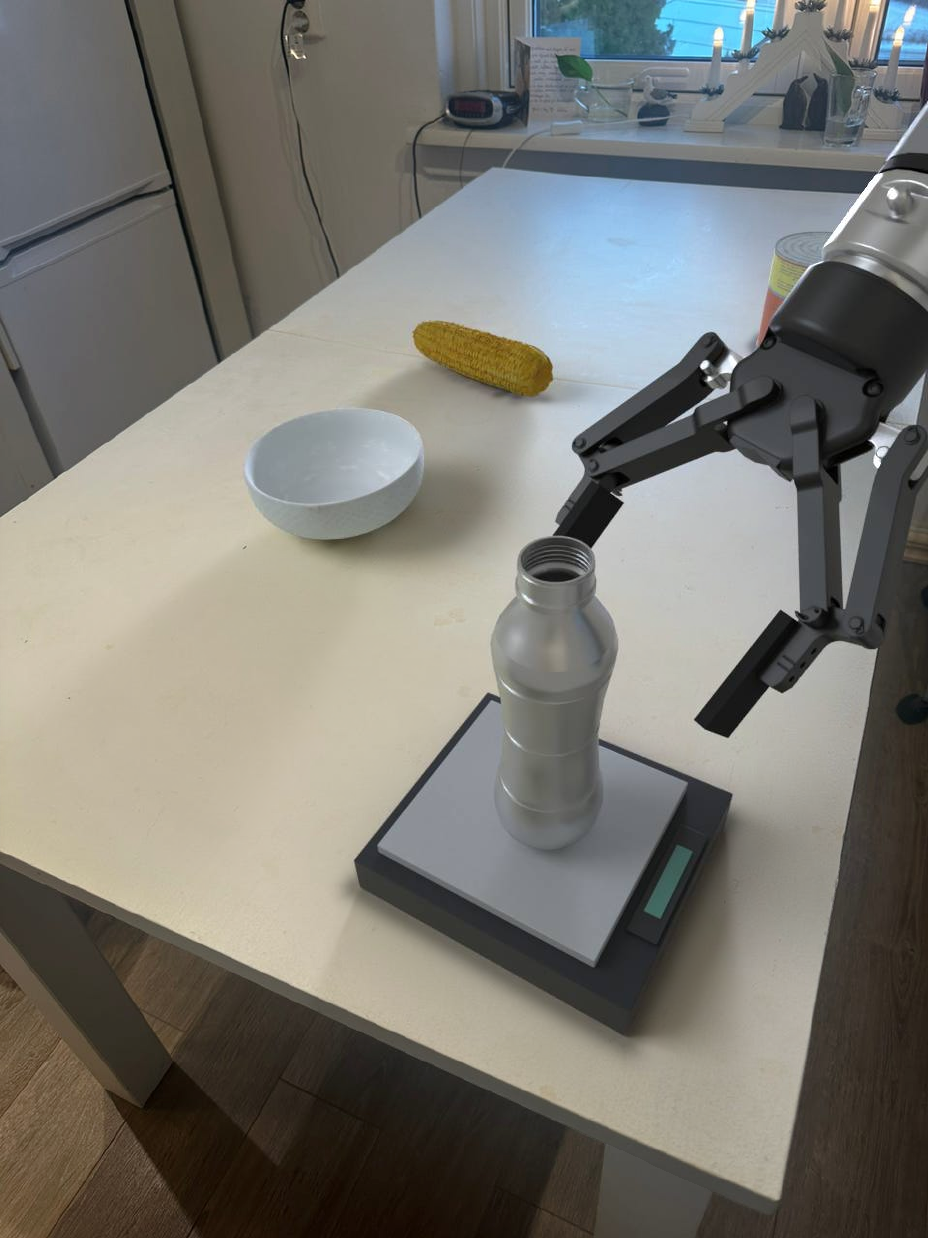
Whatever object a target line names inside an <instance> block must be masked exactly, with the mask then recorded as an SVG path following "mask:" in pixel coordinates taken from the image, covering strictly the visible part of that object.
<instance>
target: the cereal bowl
mask: <svg viewBox="0 0 928 1238" xmlns="http://www.w3.org/2000/svg"><path fill="white" fill-rule="evenodd" d="M424 470H425V452H424V445H423V439H422V437H421V434H420V433H419V431H418V430H417V429H416V427H415V426H414V425H413V424H412V423H411V422H409V421H408V420H406V419H405V418H402V417H400V416H399V415H396V414H393V413H390V412H387V411H383V410H378V409H372V408H364V407H363V408H362V407H338V408H329V409H324V410H323V409H322V410H317V411H313V412H308V413H305V414H302V415H299V416H296V417H292V418H290V419H288V420H285V421H283V422H281V423H279V424H277V425H275V426H273V427H272V428H270V429H268V430H267V431H266V432H264V433H263V434H262V435H261V436H259V437H258V438H257V439H256V440H255V441H254V442H253V443H252V445H251V446H250V447H249V448H248V450H247V451H246V454H245V457H244V459H243V464H242V474H243V478H244V482H245V485H246V487H247V491H248V493H249V496H250V498H251V501H253V503H254V506H255V507H256V508H257V510H258V512H259V513H260V514H261V515H262V516H263V517H264V518H265V519H266V520H267V521H268V522H269V523H271V524H272V525H274V526H275V527H277V528H278V529H280V531H281V530H282V531H283V532H285V533H289V534H291V535H294V536H297V537H298V538H299V537H300V538H305V539H312V540H323V541H326V540H340V539H342V540H343V539H349V538H353V537H358V536H361V535H365V534H367V533H371V532H373V531H375V530H377V529H379V528H382V527H383V526H386V525H387V524H388V523H390V522H392V521H393V520H394V519H396V518H397V517H398V516H399V515H401V514H402V513H403V512H404V511H406V509H408V507H409V505H411V503H412V502H413V500H414V499H415V497H416V495H417V494H418V492H419V490H420V488H421V486H422V485H421V484H422V482H423V476H424Z"/></svg>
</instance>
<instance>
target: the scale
mask: <svg viewBox="0 0 928 1238" xmlns="http://www.w3.org/2000/svg"><path fill="white" fill-rule="evenodd" d="M598 739H599V763H600V768H601V772H602V778H603V788H604V798H603V803H602V806H601V809H600V812H599V814H598V817H597V820H596V822H595V824H594V825H593V827H592V829H591V830H590V831H589V832H588V833H587V835H586V836H584V837H583V838H582V839H580V840H579V841H577V842H575V843H574V844H572V845H569V846H566V847H563V848H559V849H553V850H542V849H537V848H532V847H529V846H527V845H525V844H522V843H520V842H519V841H517V840H516V839H514V838H513V837H512V836H511V835H510V834H509V833H508V832H507V831H506V830H505V829H504V827H503V825H502V824H501V822H500V819H499V816H498V813H497V810H496V807H495V803H494V796H493V791H494V783H495V777H496V772H497V768H498V765H499V762H500V759H501V750H502V740H503V721H502V710H501V699H500V695H496V694H493V693H492V692H489V691H488V692H487V693H485V695H484V697H483V698H482V699H481V700H480V701H479V702H478V704H477V705H476V706H475V708H474V709H473V710H472V711H471V712H470V714H469V715H468V716H467V718H466V719H465V720H464V722H463V723H462V724H461V725H460V726H459V728H458V729H457V730H456V731H455V732H454V734H453V735H452V736H451V737H450V739H449V740H448V741H447V742H446V744H445V745H444V746H443V748H442V749H441V750H440V751H439V752H438V754H437V755H436V757H434V759H432V760H433V761H432V762H431V763H430V764H429V765H428V766H427V768H426V769H425V770H424V771H423V773H422V774H421V775H420V777H419V778H418V779H417V781H416V782H415V783H414V784H413V785H412V787H411V788H410V789H409V790H408V792H407V793H406V794H405V795H404V797H403V798H402V799H401V800H400V802H398V804H397V806H395V807H394V809H393V811H392V812H391V813H390V814H389V816H388V817H387V818H386V819H385V821H384V822H383V823H382V824H381V826H380V827H379V828H378V829H377V830H376V832H375V833H374V834H373V836H372V837H371V838H370V839H369V840H368V842H367V843H366V845H365V846H363V848H362V849H361V851H360V852H358V854H357V855H356V857H355V858H354V859H353V863H354V868H355V872H356V876H357V880H358V885H359V887H360V888H361V889H363V890H365V891H366V892H368V893H370V894H371V895H374V896H376V898H379V899H380V900H382V901H384V902H386V903H388V904H389V905H392V906H393V907H395V908H396V909H398V910H400V911H402V912H404V913H405V914H407V915H409V916H411V917H412V918H414V919H416V920H417V921H419V922H422V923H423V924H425V925H427V926H429V927H430V928H432V929H434V930H436V931H437V932H439V933H441V934H443V935H444V936H446V937H448V938H450V939H451V940H453V941H455V942H457V943H459V944H461V946H464V947H466V948H467V949H469V950H471V951H473V952H475V953H476V954H478V955H480V956H482V957H484V958H485V959H487V960H489V961H491V962H492V963H494V964H496V965H498V966H500V967H501V968H503V969H505V970H506V971H508V972H510V973H512V974H514V975H515V976H518V977H519V978H521V979H523V980H524V981H526V982H527V983H530V984H531V985H533V986H535V987H536V988H538V989H540V990H541V991H544V992H546V993H547V994H549V995H551V996H552V997H555V998H556V999H558V1000H559V1001H561V1002H564V1003H565V1004H567V1005H568V1006H570V1007H572V1008H574V1009H576V1010H578V1011H579V1012H581V1013H582V1014H584V1015H586V1016H588V1017H590V1018H591V1019H594V1020H595V1021H597V1022H599V1023H600V1024H602V1025H604V1026H606V1027H608V1028H610V1029H611V1030H612V1031H615V1032H617V1033H619V1034H620V1035H622V1036H624V1037H626V1036H627V1034H628V1032H629V1030H630V1027H631V1025H632V1024H633V1021H634V1020H635V1017H636V1015H637V1013H638V1010H639V1009H640V1006H641V1004H642V1002H643V1000H644V998H645V995H646V994H647V991H648V989H649V988H650V985H651V983H652V981H653V978H654V976H655V974H656V972H657V970H658V968H659V965H660V964H661V961H662V959H663V957H664V955H665V953H666V951H667V949H668V946H669V944H670V942H671V940H672V938H673V935H674V933H675V931H676V928H677V927H678V925H679V923H680V920H681V918H682V916H683V914H684V912H685V910H686V908H687V905H688V903H689V901H690V899H691V897H692V895H693V893H694V890H695V888H696V887H697V884H698V882H699V880H700V878H701V875H702V873H703V871H704V869H705V867H706V865H707V862H708V861H709V858H710V856H711V854H712V852H713V850H714V848H715V846H716V844H717V842H718V839H719V837H720V835H721V833H722V831H723V828H724V827H725V824H726V822H727V818H728V815H729V811H730V807H731V803H732V799H733V795H734V794H733V793H732V792H729V791H727V790H725V789H723V788H720V787H718V786H716V785H712V784H710V783H708V782H706V781H704V780H701V779H699V778H696V777H693V776H691V775H689V774H686V773H684V772H681V771H679V770H676V769H674V768H672V767H670V766H667V765H664V764H663V763H660V762H658V761H655V760H653V759H650V758H648V757H646V756H643V755H641V754H639V753H636V752H633V751H632V750H629V749H626V748H624V747H621V746H619V745H617V744H614V743H612V742H609V741H607V740H605V739H602V738H600V737H598Z"/></svg>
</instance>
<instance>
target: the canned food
mask: <svg viewBox="0 0 928 1238" xmlns="http://www.w3.org/2000/svg"><path fill="white" fill-rule="evenodd" d="M834 232H835V231H804V232H803V231H802V232H797V233H792V234H788V235H785V236H783V237H781V238H779V239H778V240H777V241H776V242H775V243H774V247H773V250H774V251H773V256H772V261H771V267H770V273H769V278H768V283H767V287H766V288H767V289H766V294H765V298H764V299H765V300H764V304H763V310H762V313H761V314H762V315H761V320H760V326H759V331H758V336H757V340H756V343H755V349H757V348H758V347H759V346H760V344H761V343H762V341H763V339H764V337H765V334H766V332H767V329H768V325H769V322H770V320H771V318H772V317H773V315H774V314H775V313H776V311H777V310H778V308H779V307H780V306H781V304H782V303H783V301H784V300H785V299H786V297H787V296H788V295H789V293H790V292H791V290H792V289H793V288H794V286H795V285H796V283H797V282H798V281H799V279H800V278H801V277H802V275H803V274H804V272H805V271H806V270H807V268H808V267H810V266H811V265H814V264H817V263H820V262H822V254H821V252H822V250H823V247H824V246H825V244H826V243H827V242H828V240H829V239H830V237H831V236H832V235H833V233H834Z"/></svg>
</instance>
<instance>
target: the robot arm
mask: <svg viewBox="0 0 928 1238" xmlns="http://www.w3.org/2000/svg"><path fill="white" fill-rule="evenodd" d="M833 232H834V233H833V235H832V236H831V237H830V239H829V240H828V242H827V243H826V244H825V246H824V247H823V250H822V252H821V254H822V262H820V263H817V264H814V265H811V266H810V267H808V268H807V270H806V271H805V272H804V274H803V275H802V277H801V278H800V279H799V281H798V282H797V283H796V285H795V286H794V288H793V289H792V290H791V292H790V293H789V295H788V296H787V297H786V299H785V300H784V301H783V303H782V304H781V306H780V307H779V308H778V310H777V311H776V313H775V314H774V315H773V317H772V318H771V320H770V322H769V325H768V329H767V332H766V334H765V337H764V339H763V341H762V343H761V344H760V346H759V347H758V348H755V349H754V350H753V351H751V352H750V353H748V355H746V356H744V357H743V356H741V355H740V354H739V353H737V352H735V351H734V350H732V349H731V348H729V347H728V345H727V344H726V343H725V342H724V340H722V339H721V337H720V336H719V335H718V333H716V332H714V331H708V332H706V333H704V334H703V335H702V336H700V337H699V338H698V340H697V341H696V342H695V344H693V346H691V348H690V349H689V350H688V351H687V353H686V354H685V355H684V357H683V358H682V359H681V360H680V361H679V362H678V363H677V364H676V365H674V366H673V367H671V368H670V369H668V370H667V371H666V372H664V373H663V374H662V375H660V376H659V377H657V378H656V379H655V380H653V381H652V382H650V383H649V384H648V385H646V386H644V387H643V388H642V389H641V390H639V391H638V392H636V393H634V394H633V395H632V396H631V397H629V398H628V399H627V400H625V401H624V402H622V403H621V404H620V405H618V406H617V407H615V408H614V409H613V410H611V411H610V412H609V413H607V414H605V415H604V416H602V418H600V419H599V420H598V421H596V422H594V423H593V424H592V425H590V426H589V427H588V428H586V429H584V430H583V431H582V432H581V433H579V434H578V435H576V437H575V438H574V439H573V440H572V443H571V450H572V452H573V453H574V454H575V455H577V457H578V458H579V460H580V461H581V462H582V465H583V468H584V472H583V476H582V478H581V479H580V480H579V482H578V483H577V485H576V486H575V488H574V489H573V491H572V492H571V493H570V495H569V496H568V498H567V500H565V502H564V503H563V504H564V505H562V506H561V508H560V509H559V511H558V512H557V514H556V517H555V520H554V522H555V523H556V524H557V525H558V527H557V528H556V529H555V531H554V533H553V534H552V535H551V536H566V537H571V538H575V539H577V540H580V541H582V542H583V543H585V544H586V545H588V546H589V547H590V548H591V549H592V548H593V547H594V546H595V544H596V543H597V542H598V540H599V539H600V538H601V536H602V535H603V533H604V532H605V530H606V529H607V528H608V526H609V525H610V523H611V522H612V521H613V519H614V518H615V516H616V515H617V514H618V512H619V511H620V509H621V508H622V507H623V505H624V504H625V502H624V501H622V500H621V499H620V498H619V497H623V493H622V492H623V489H625V488H628V487H630V486H634V485H635V484H638V483H640V482H641V483H642V482H643V481H645V480H648V479H651V478H653V477H656V476H658V475H660V474H664V473H666V472H668V471H671V470H673V469H676V468H679V467H681V466H684V465H687V464H688V463H691V462H693V461H696V460H698V459H701V458H704V457H706V456H708V455H711V454H714V453H730V452H732V451H734V450H737V451H738V453H740V454H741V455H742V456H743V457H744V458H746V459H747V460H750V461H751V462H752V463H755V464H760V465H765V466H768V467H769V468H770V469H772V471H773V472H774V473H775V474H776V475H777V476H778V477H780V478H782V479H783V480H785V481H787V482H789V483H792V481H793V483H794V486H795V488H796V489H795V490H796V507H797V548H798V549H797V550H798V585H799V587H798V589H799V590H798V591H799V611H798V610H794V615H795V616H794V617H796V618H797V619H798V620H796V619H795V618H794V617H793V616H790V615H789V614H788V613H786V612H785V611H784V610H782V609H779V611H778V612H777V613H776V614H775V615H774V616H773V618H772V619H771V621H770V622H769V623H768V625H767V626H765V628H764V629H763V631H762V632H761V633H760V635H758V637H757V638H756V639H755V641H754V642H753V643H752V645H751V646H750V647H749V648H748V649H747V651H746V653H745V654H744V655H743V656H742V657H741V659H740V660H739V661H738V663H736V665H735V666H734V668H733V669H732V670H731V672H730V673H729V674H728V675H727V676H726V677H725V678H724V680H723V681H722V683H721V684H720V685H719V687H718V688H717V689H716V690H715V692H714V693H713V694H712V696H711V697H710V698H709V699H708V700H707V702H706V704H704V706H703V707H702V708H701V709H700V711H699V712H698V713H697V715H696V716H695V717H694V719H693V721H694V722H695V723H696V724H698V726H700V727H701V728H702V729H704V730H705V731H707V732H710V733H713V734H716V735H718V736H720V737H724V738H727V739H729V738H730V737H731V735H732V734H733V732H735V731H736V729H737V728H738V727H739V725H740V724H741V723H743V721H744V719H745V718H746V717H747V715H748V714H749V713H750V712H751V711H752V709H753V708H754V707H755V706H756V704H757V703H758V702H759V700H760V699H761V698H762V697H763V696H764V694H765V693H766V692H767V691H768V689H769V688H771V689H773V690H775V691H777V692H778V693H780V694H784V693H785V692H788V691H789V690H791V689H793V687H794V686H795V685H796V684H797V683H798V682H799V680H800V679H801V677H802V676H803V675H804V674H805V672H806V671H807V670H808V669H809V668H810V666H811V665H812V664H813V663H814V662H815V661H816V659H817V658H818V657H819V655H820V654H821V653H822V651H823V650H824V649H825V648H826V647H827V646H829V645H830V644H832V643H836V642H844V643H849V644H851V645H857V646H860V647H862V648H864V649H866V650H876V649H879V648H881V647H882V646H883V645H884V643H885V642H886V639H887V636H888V631H889V626H890V621H891V617H892V612H893V608H894V603H895V598H896V594H897V589H898V586H899V585H898V584H899V579H900V575H901V571H902V566H903V561H904V557H905V551H906V547H907V543H908V537H909V533H910V528H911V524H912V520H913V515H914V510H915V505H916V501H917V496H918V494H919V493H920V491H921V489H922V488H923V486H924V485H925V483H926V481H927V480H928V432H927V430H926V429H925V427H924V426H922V425H921V424H920V425H919V424H911V425H907V426H905V427H904V428H901V427H898V426H895V425H891V424H888V423H887V421H888V419H889V416H890V414H891V412H892V411H893V410H894V409H895V408H896V407H898V406H899V405H901V404H902V403H903V402H904V401H905V400H906V398H907V397H908V396H909V395H910V393H911V392H912V391H913V389H914V388H915V387H916V385H917V384H918V382H919V381H920V380H921V379H922V378H923V376H924V375H925V374H926V372H927V371H928V100H927V101H926V102H925V104H924V106H923V107H922V108H921V110H920V111H919V113H918V114H917V116H916V117H915V118H914V120H913V121H912V122H911V124H910V126H909V127H908V128H907V129H906V131H905V132H904V134H903V135H902V136H901V138H900V140H899V141H898V143H896V145H895V147H894V148H893V149H892V151H891V152H890V154H889V155H888V156H887V158H886V159H885V161H884V163H883V164H882V167H881V168H880V169H879V170H878V172H877V174H876V175H875V176H874V177H873V179H872V180H871V181H870V182H869V183H868V185H867V187H866V188H865V189H864V191H863V192H862V193H861V195H860V196H859V198H858V199H857V200H856V202H855V203H854V205H853V206H852V207H851V208H850V209H849V212H847V214H846V216H845V217H843V220H842V221H841V223H839V225H838V226H837V227H836V229H835V230H834V231H833ZM728 382H729V383H728ZM728 384H729V391H728V393H725V394H723V395H721V396H718V397H716V398H713V399H711V400H709V401H706V402H704V403H701V402H703V401H704V400H705V399H706V398H707V397H709V396H710V395H711V394H712V393H713V392H714V391H715V390H716V389H719V390H724V389H726V387H727V386H728ZM700 403H701V404H700ZM698 404H700V405H698ZM697 405H698V406H697ZM695 406H696V407H695ZM694 407H695V408H694ZM693 408H694V410H693V413H692V414H690V415H688V416H686V417H683V418H681V419H679V420H676V419H678V418H679V417H681V416H682V415H684V414H685V413H687V412H688V411H689V410H691V409H693ZM675 420H676V421H675ZM872 450H874V454H873V458H872V464H873V466H874V467H875V469H876V470H877V471H876V473H875V475H874V478H873V483H872V486H871V491H870V495H869V499H868V504H867V509H866V513H865V518H864V521H863V527H862V531H861V535H860V540H859V544H858V549H857V553H856V558H855V563H854V568H853V570H852V571H853V572H852V576H851V580H850V585H849V589H848V595H847V599H846V604H845V608H844V594H843V593H844V591H843V568H842V567H843V564H842V540H841V538H842V537H841V518H840V517H841V513H840V512H841V511H840V503H841V502H842V500H843V489H842V488H843V487H842V464H844V463H846V462H848V461H851V460H854V459H855V458H858V457H860V456H863V455H865V454H867V453H869V452H872Z"/></svg>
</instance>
